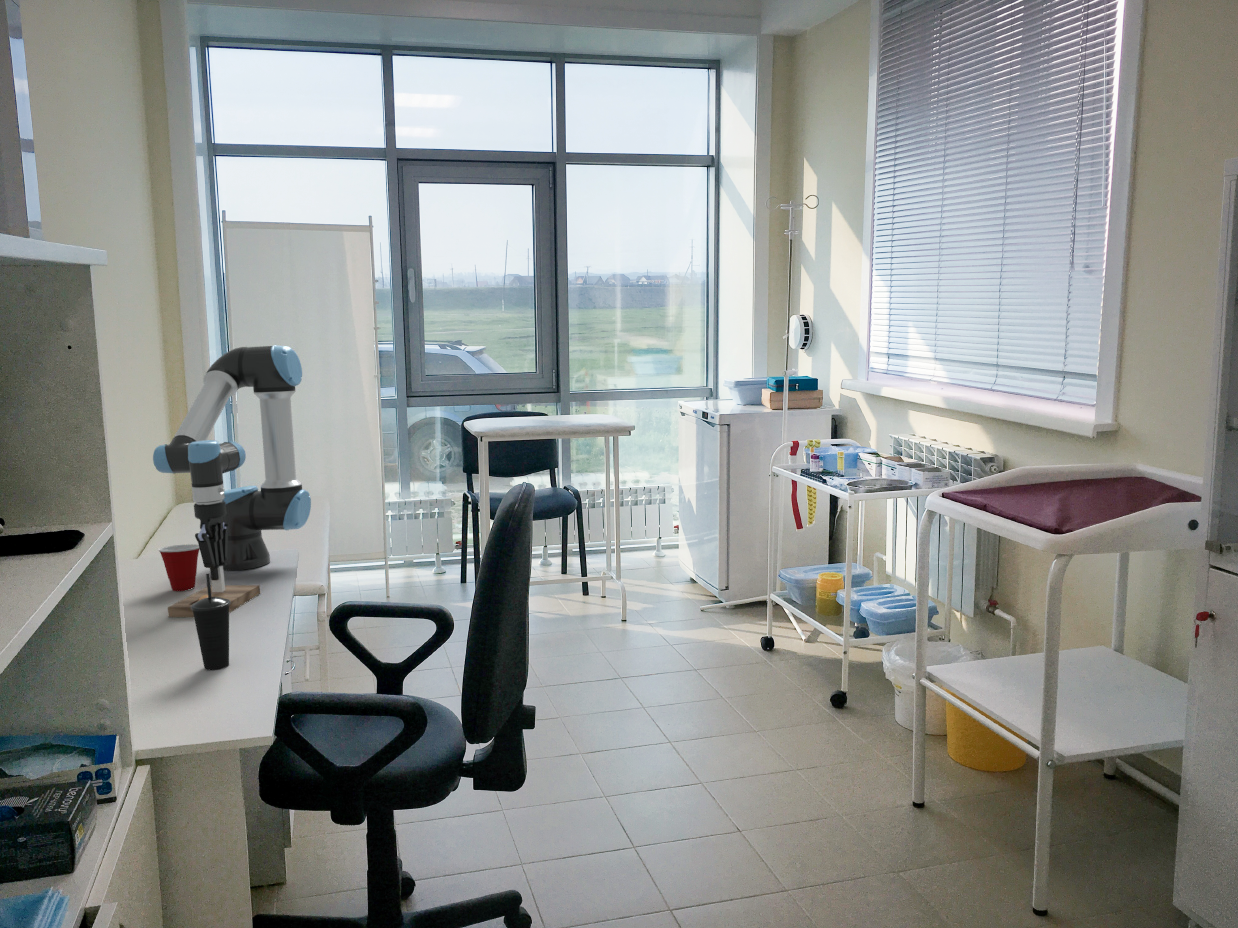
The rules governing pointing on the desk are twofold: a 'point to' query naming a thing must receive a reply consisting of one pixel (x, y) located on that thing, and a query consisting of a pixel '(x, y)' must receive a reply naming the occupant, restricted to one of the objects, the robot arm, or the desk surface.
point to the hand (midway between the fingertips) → (218, 590)
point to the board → (232, 593)
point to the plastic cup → (181, 565)
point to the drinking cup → (213, 629)
